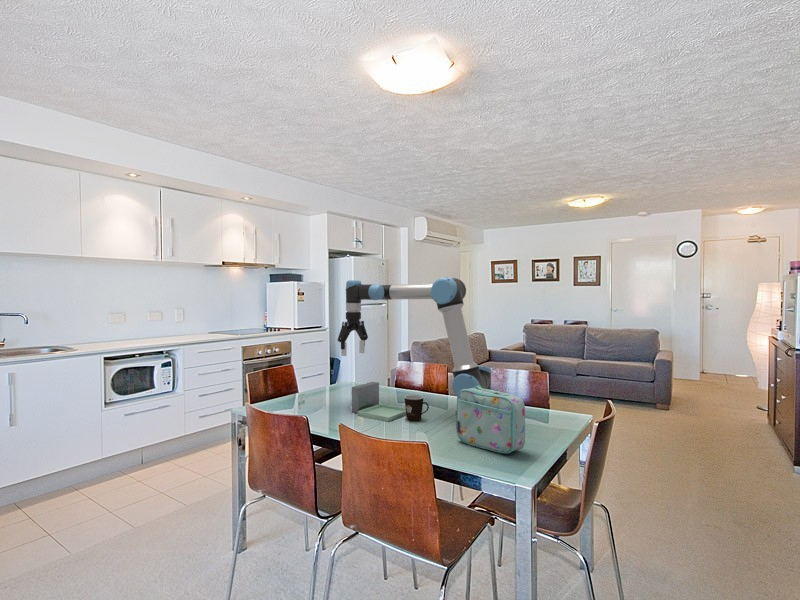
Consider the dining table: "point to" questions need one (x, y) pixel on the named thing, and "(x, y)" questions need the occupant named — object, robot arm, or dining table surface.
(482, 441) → the lunch box
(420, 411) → the coffee mug
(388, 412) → the tray
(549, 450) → the dining table surface
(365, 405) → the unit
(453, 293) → the robot arm
